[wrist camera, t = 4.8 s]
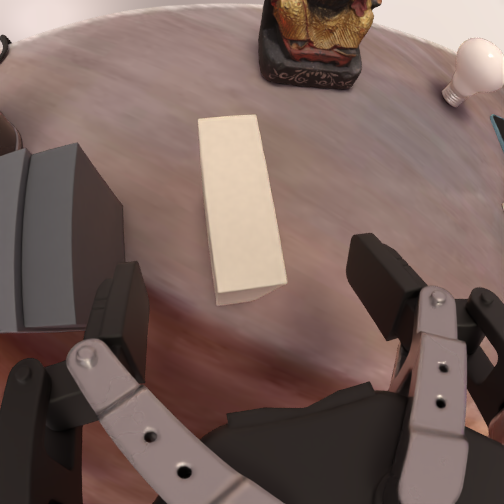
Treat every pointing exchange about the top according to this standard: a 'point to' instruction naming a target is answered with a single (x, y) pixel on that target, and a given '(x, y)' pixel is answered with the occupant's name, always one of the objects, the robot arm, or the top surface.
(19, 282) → the grey books
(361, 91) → the top surface
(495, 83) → the lightbulb
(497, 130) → the smartphone
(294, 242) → the top surface
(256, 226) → the white book
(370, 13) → the statue
